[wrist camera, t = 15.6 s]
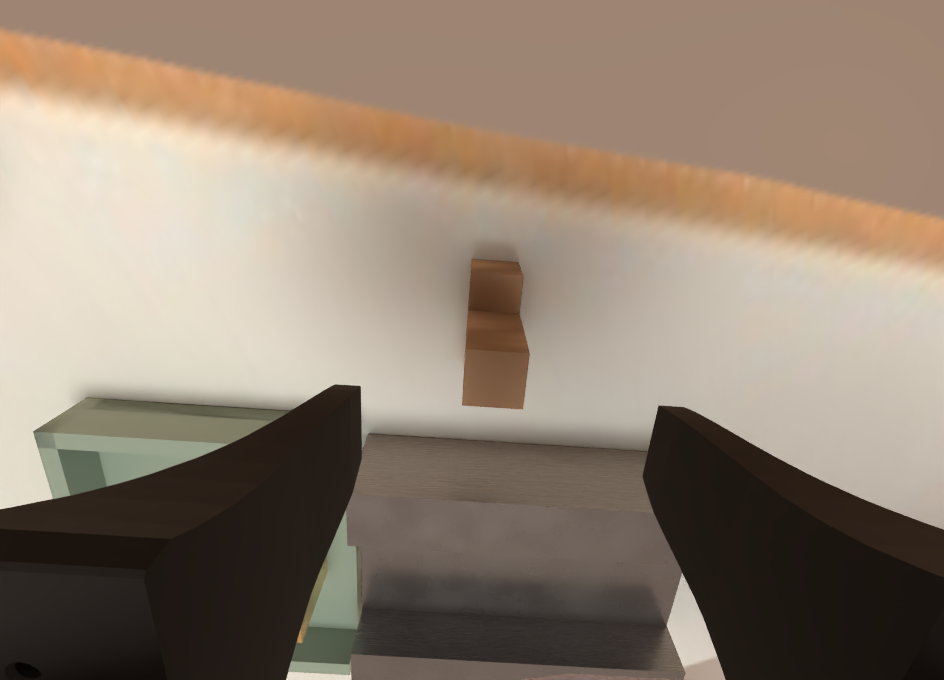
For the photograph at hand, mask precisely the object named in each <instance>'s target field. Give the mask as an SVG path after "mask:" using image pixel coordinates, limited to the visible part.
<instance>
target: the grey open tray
mask: <svg viewBox="0 0 944 680" xmlns="http://www.w3.org/2000/svg"><path fill="white" fill-rule="evenodd" d="M647 454H648V452H647V451H631V450H615V449H599V448H584V447H568V446H552V445H536V444H521V443H505V442H489V441H473V440H458V439H442V438H426V437H410V436H395V435H379V434H369V435H368V437H367V440H366V442H365V445H364V448H363V450H362V460H361V464H360V468H359V471H358V475H357V479H356V483H355V486H354V490H353V494H352V496H351V499H350V501H349V504H348V506H347V508H346V519H347V546H357V547H361V561H362V611H361V615H360V619H359V623H358V627H357V631H356V635H355V639H354V643H353V647H352V651H351V676H352V680H522V679H529V678H537V677H545V676H553V675H561V674H569V673H570V674H588V675H606V676H623V677H641V678H659V679H677V680H683V679H684V676H685V671H684V668H683V666H682V663H681V661H680V658H679V656H678V653H677V651H676V648H675V646H674V643H673V641H672V638H671V636H670V633H669V631H668V628H667V626H666V625H667V622H668V618H669V615H670V612H671V608H672V605H673V602H674V598H675V595H676V591H677V588H678V585H679V581H680V578H681V574H682V571H681V569H680V567H679V565H678V563H677V561H676V559H675V557H674V554H673V552H672V550H671V548H670V546H669V544H668V542H667V540H666V538H665V536H664V534H663V532H662V530H661V528H660V525H659V523H658V521H657V519H656V517H655V515H654V512H653V509H652V506H651V503H650V500H649V497H648V494H647V491H646V487H645V484H644V481H643V477H642V475H643V471H644V466H645V462H646V458H647Z"/></svg>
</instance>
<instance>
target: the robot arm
mask: <svg viewBox="0 0 944 680" xmlns="http://www.w3.org/2000/svg"><path fill="white" fill-rule="evenodd" d="M361 460H362V441H361V386H350V385H333V386H331V387H329V388H328V389H326V390H324V391H322V392H321V393H319V394H318V395H316V396H314V397H313V398H311V399H310V400H308V401H306V402H305V403H303V404H301V405H300V406H298V407H296V408H295V409H293V410H292V411H290V412H288V413H287V414H285V415H283V416H282V417H280V418H278V419H276V420H274V421H273V422H271V423H269V424H267V425H265V426H263V427H262V428H260V429H258V430H256V431H254V432H252V433H250V434H249V435H247V436H245V437H243V438H241V439H239V440H237V441H234V442H232V443H230V444H228V445H226V446H224V447H221V448H219V449H217V450H214V451H212V452H210V453H207V454H205V455H202V456H200V457H197V458H195V459H192V460H189V461H186V462H183V463H181V464H178V465H175V466H172V467H169V468H166V469H163V470H161V471H158V472H155V473H152V474H149V475H146V476H142V477H139V478H136V479H132V480H129V481H125V482H122V483H118V484H115V485H111V486H107V487H103V488H99V489H95V490H91V491H88V492H83V493H79V494H75V495H71V496H66V497H61V498H56V499H51V500H46V501H41V502H36V503H31V504H26V505H21V506H16V507H11V508H6V509H0V680H286V677H287V674H288V670H289V667H290V663H291V660H292V657H293V653H294V650H295V646H296V643H297V639H298V636H299V633H300V629H301V626H302V623H303V620H304V616H305V613H306V610H307V606H308V603H309V600H310V597H311V594H312V591H313V588H314V586H315V583H316V580H317V578H318V575H319V573H320V570H321V568H322V565H323V563H324V561H325V558H326V556H327V554H328V551H329V549H330V547H331V544H332V542H333V539H334V537H335V535H336V532H337V530H338V528H339V525H340V523H341V521H342V518H343V516H344V513H345V511H346V508H347V506H348V504H349V501H350V499H351V496H352V494H353V490H354V486H355V483H356V479H357V475H358V471H359V468H360V464H361ZM642 477H643V481H644V484H645V487H646V491H647V494H648V497H649V500H650V503H651V506H652V509H653V512H654V515H655V517H656V519H657V521H658V523H659V525H660V528H661V530H662V532H663V534H664V536H665V538H666V540H667V542H668V544H669V546H670V548H671V550H672V552H673V554H674V557H675V559H676V561H677V563H678V565H679V567H680V569H681V571H682V573H683V575H684V577H685V579H686V581H687V583H688V585H689V587H690V589H691V591H692V593H693V595H694V597H695V600H696V602H697V604H698V607H699V609H700V611H701V613H702V616H703V618H704V621H705V623H706V626H707V629H708V632H709V634H710V637H711V640H712V642H713V645H714V648H715V651H716V653H717V656H718V659H719V662H720V664H721V667H722V670H723V673H724V676H725V679H726V680H944V530H943V529H940V528H937V527H934V526H931V525H928V524H926V523H923V522H920V521H918V520H915V519H912V518H910V517H907V516H904V515H902V514H899V513H896V512H894V511H891V510H888V509H886V508H883V507H881V506H878V505H876V504H873V503H871V502H868V501H866V500H863V499H861V498H859V497H857V496H854V495H852V494H850V493H848V492H845V491H843V490H841V489H839V488H836V487H834V486H832V485H830V484H827V483H825V482H823V481H821V480H819V479H817V478H815V477H813V476H811V475H809V474H807V473H805V472H803V471H801V470H799V469H797V468H795V467H793V466H791V465H789V464H787V463H785V462H784V461H782V460H780V459H778V458H776V457H774V456H772V455H771V454H769V453H767V452H765V451H763V450H762V449H760V448H758V447H756V446H754V445H753V444H751V443H749V442H747V441H746V440H744V439H742V438H740V437H739V436H737V435H735V434H734V433H732V432H730V431H728V430H727V429H725V428H723V427H721V426H720V425H718V424H716V423H714V422H713V421H711V420H709V419H707V418H705V417H704V416H702V415H700V414H698V413H696V412H694V411H692V410H689V409H687V408H684V407H672V406H659V407H658V411H657V415H656V419H655V424H654V428H653V432H652V437H651V441H650V445H649V449H648V454H647V458H646V462H645V466H644V471H643V475H642ZM522 680H677V679H659V678H641V677H623V676H606V675H588V674H570V673H569V674H561V675H553V676H545V677H537V678H529V679H522Z"/></svg>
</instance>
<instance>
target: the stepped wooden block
mask: <svg viewBox="0 0 944 680" xmlns="http://www.w3.org/2000/svg"><path fill="white" fill-rule="evenodd" d="M522 285H523V274H522V271H521V268H520V265H519V263H518V262H506V261H491V260H477V259H472V262H471V277H470V291H469V306H468V321H467V335H466V350H465V365H464V381H463V401H462V405H465V406H480V407H496V408H511V409H523V404H524V396H525V388H526V379H527V371H528V363H529V354H530V353H529V349H528V345H527V341H526V337H525V334H524V330H523V326H522V322H521V318H520V314H519V313H520V304H521V295H522Z"/></svg>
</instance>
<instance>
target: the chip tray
mask: <svg viewBox="0 0 944 680" xmlns="http://www.w3.org/2000/svg"><path fill="white" fill-rule="evenodd" d="M288 412H290V411H282V410H266V409H250V408H235V407H219V406H203V405H188V404H172V403H157V402H141V401H125V400H110V399H94V398H86V399H84V400H82V401H81V402H79V403H78V404H76V405H75V406H73V407H71V408H70V409H68V410H67V411H65V412H63V413H62V414H60V415H59V416H57V417H56V418H54V419H52V420H51V421H49V422H48V423H46V424H44V425H43V426H41V427H40V428H38V429H37V430H35V431H33V433H34V436H35V440H36V443H37V446H38V450H39V453H40V456H41V460H42V463H43V466H44V470H45V473H46V476H47V480H48V483H49V486H50V490H51V493H52V496H53V499H56V498H61V497H66V496H71V495H75V494H79V493H83V492H88V491H91V490H95V489H99V488H103V487H107V486H111V485H115V484H118V483H122V482H125V481H129V480H132V479H136V478H139V477H142V476H146V475H149V474H152V473H155V472H158V471H161V470H163V469H166V468H169V467H172V466H175V465H178V464H181V463H183V462H186V461H189V460H192V459H195V458H197V457H200V456H202V455H205V454H207V453H210V452H212V451H214V450H217V449H219V448H221V447H224V446H226V445H228V444H230V443H232V442H234V441H237V440H239V439H241V438H243V437H245V436H247V435H249V434H250V433H252V432H254V431H256V430H258V429H260V428H262V427H263V426H265V425H267V424H269V423H271V422H273V421H274V420H276V419H278V418H280V417H282V416H283V415H285V414H287V413H288ZM327 570H328V572H327V575H326V578H325V581H324V583H323V586H322V589H321V592H320V595H319V598H318V600H317V603H316V606H315V609H314V612H313V614H312V617H311V620H310V623H309V626H308V629H307V631H306V634H305V637H304V640H303V643H296V646H295V650H294V653H293V657H292V660H291V663H290V667H289V670H288V672H304V673H322V674H340V675H350V672H351V651H352V647H353V643H354V639H355V635H356V631H357V627H358V623H359V619H360V615H361V611H362V588H361V547H357V546H347V519H346V511H345V513H344V516H343V518H342V521H341V523H340V525H339V528H338V530H337V532H336V535H335V537H334V539H333V542H332V544H331V547H330V549H329V551H328V554H327Z"/></svg>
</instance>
